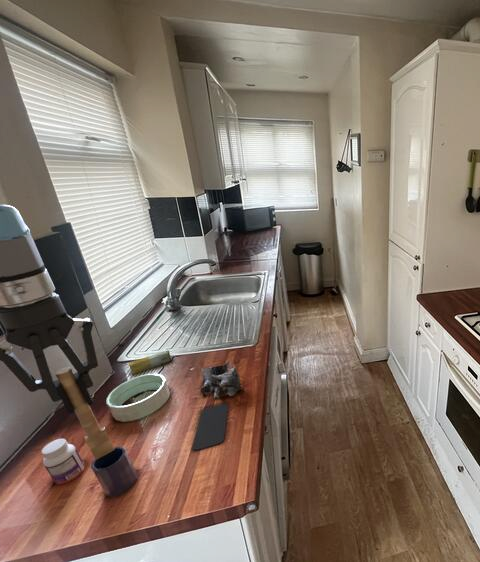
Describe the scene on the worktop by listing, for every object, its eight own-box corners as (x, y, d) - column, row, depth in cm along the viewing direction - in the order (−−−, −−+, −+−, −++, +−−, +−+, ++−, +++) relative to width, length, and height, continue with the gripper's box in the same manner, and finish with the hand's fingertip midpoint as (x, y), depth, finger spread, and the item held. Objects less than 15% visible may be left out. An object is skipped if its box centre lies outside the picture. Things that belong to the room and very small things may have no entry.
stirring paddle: (96, 461, 64) (51, 377, 56) (94, 455, 66) (50, 372, 57) (115, 451, 66) (75, 368, 58) (113, 445, 68) (73, 364, 59)
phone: (228, 402, 92) (224, 442, 79) (229, 404, 92) (224, 444, 79) (201, 409, 90) (191, 451, 77) (202, 411, 90) (192, 453, 77)
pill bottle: (63, 469, 74) (45, 440, 71) (90, 461, 76) (74, 432, 72) (50, 490, 70) (30, 460, 66) (79, 481, 71) (62, 451, 68)
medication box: (171, 359, 115) (168, 349, 113) (172, 361, 113) (169, 352, 111) (132, 372, 108) (128, 362, 106) (132, 375, 106) (128, 365, 104)
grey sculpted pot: (240, 359, 108) (236, 360, 94) (244, 390, 106) (240, 396, 92) (202, 366, 103) (192, 368, 90) (206, 399, 102) (196, 406, 88)
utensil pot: (99, 500, 67) (83, 472, 64) (118, 474, 73) (104, 447, 69) (127, 498, 67) (112, 469, 64) (144, 472, 73) (131, 445, 69)
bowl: (101, 425, 86) (93, 409, 84) (134, 390, 99) (127, 375, 97) (153, 421, 87) (147, 405, 85) (179, 386, 100) (174, 372, 98)
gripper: (-48, 323, 44) (26, 441, 53) (88, 290, 55) (131, 392, 64) (-44, 309, 49) (24, 419, 58) (81, 280, 60) (122, 377, 68)
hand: (80, 405), depth 61 cm, fingers closed on stirring paddle, 2 cm apart
